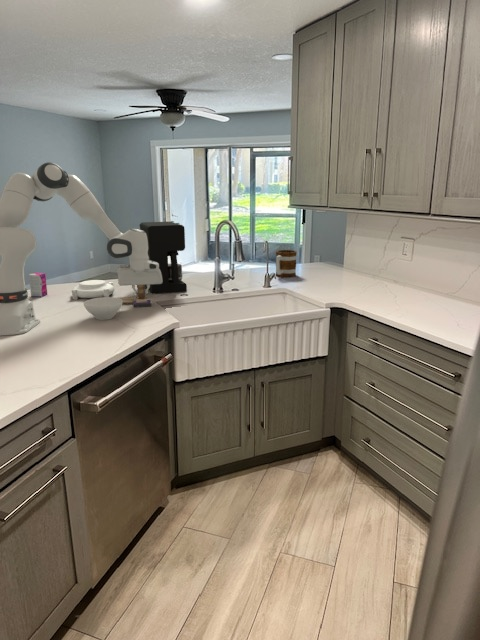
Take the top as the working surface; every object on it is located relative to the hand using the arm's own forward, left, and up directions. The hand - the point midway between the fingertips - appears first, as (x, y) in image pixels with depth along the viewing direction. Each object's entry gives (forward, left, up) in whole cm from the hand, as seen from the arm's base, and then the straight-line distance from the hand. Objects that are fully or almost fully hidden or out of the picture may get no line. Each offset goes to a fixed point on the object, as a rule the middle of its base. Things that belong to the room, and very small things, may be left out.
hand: (141, 293), depth 214 cm
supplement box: (+30, +51, -6) cm, 59 cm away
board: (+8, +8, -5) cm, 12 cm away
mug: (+51, -86, -6) cm, 100 cm away
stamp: (0, 0, -4) cm, 4 cm away
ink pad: (0, 0, -5) cm, 5 cm away
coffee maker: (+32, -13, -6) cm, 35 cm away
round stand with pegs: (+25, +24, -6) cm, 35 cm away
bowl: (-18, +16, -6) cm, 25 cm away
